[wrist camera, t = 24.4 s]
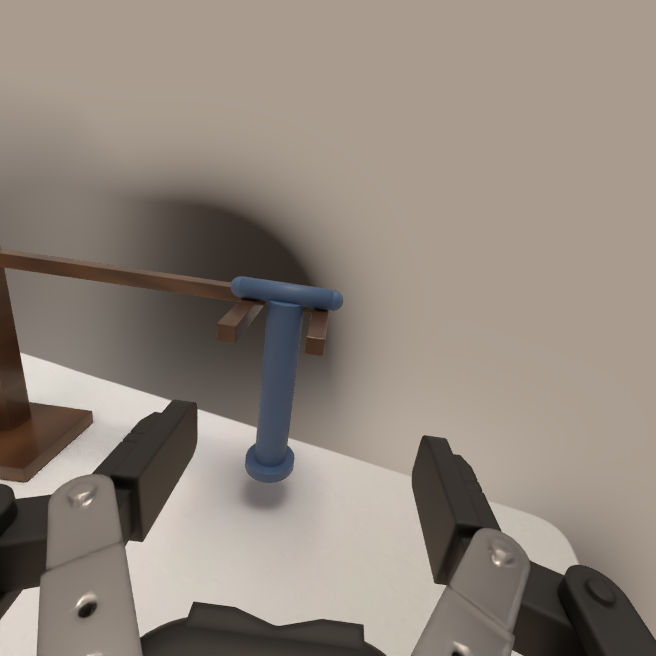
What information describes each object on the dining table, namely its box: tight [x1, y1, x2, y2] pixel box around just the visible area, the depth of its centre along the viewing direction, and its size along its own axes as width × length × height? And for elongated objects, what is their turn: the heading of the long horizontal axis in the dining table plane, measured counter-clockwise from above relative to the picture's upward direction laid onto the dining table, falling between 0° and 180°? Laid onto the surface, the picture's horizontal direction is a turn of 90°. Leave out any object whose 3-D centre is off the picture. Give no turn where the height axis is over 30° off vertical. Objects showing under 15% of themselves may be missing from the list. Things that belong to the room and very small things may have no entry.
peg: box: [231, 276, 343, 483], centre depth 29 cm, size 4×9×17 cm, turn 88°
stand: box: [0, 248, 329, 482], centre depth 30 cm, size 36×12×20 cm, turn 88°
